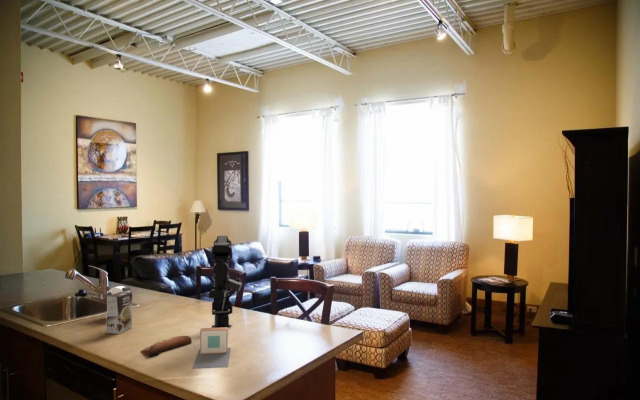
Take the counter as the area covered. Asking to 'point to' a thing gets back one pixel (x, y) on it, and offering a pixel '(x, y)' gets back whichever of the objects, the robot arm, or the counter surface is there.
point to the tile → (214, 340)
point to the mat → (211, 360)
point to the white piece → (116, 290)
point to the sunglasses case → (166, 345)
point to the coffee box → (119, 312)
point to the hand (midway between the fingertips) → (220, 311)
